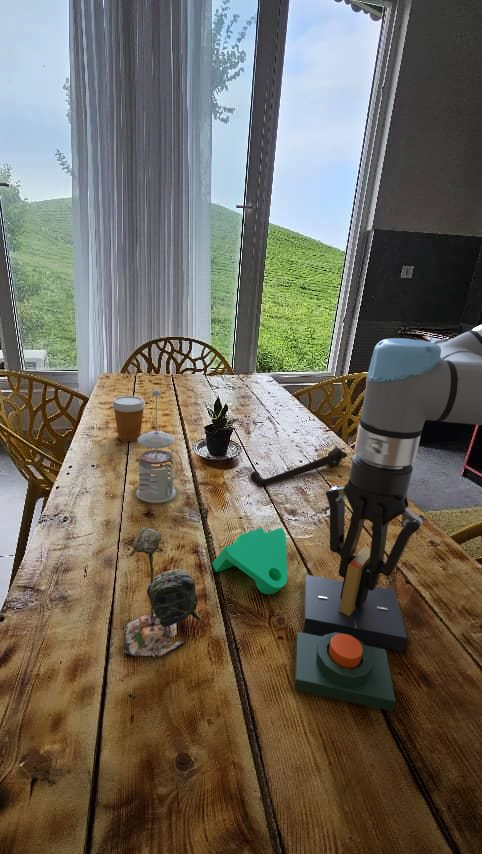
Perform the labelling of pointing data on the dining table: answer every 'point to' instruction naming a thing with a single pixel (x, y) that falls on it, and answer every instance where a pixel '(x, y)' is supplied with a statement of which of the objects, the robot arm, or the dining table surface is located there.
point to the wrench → (303, 467)
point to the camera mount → (258, 558)
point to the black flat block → (353, 614)
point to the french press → (162, 486)
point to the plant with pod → (160, 603)
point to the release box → (343, 673)
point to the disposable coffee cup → (128, 416)
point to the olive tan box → (353, 581)
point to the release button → (345, 651)
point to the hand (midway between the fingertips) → (353, 598)
